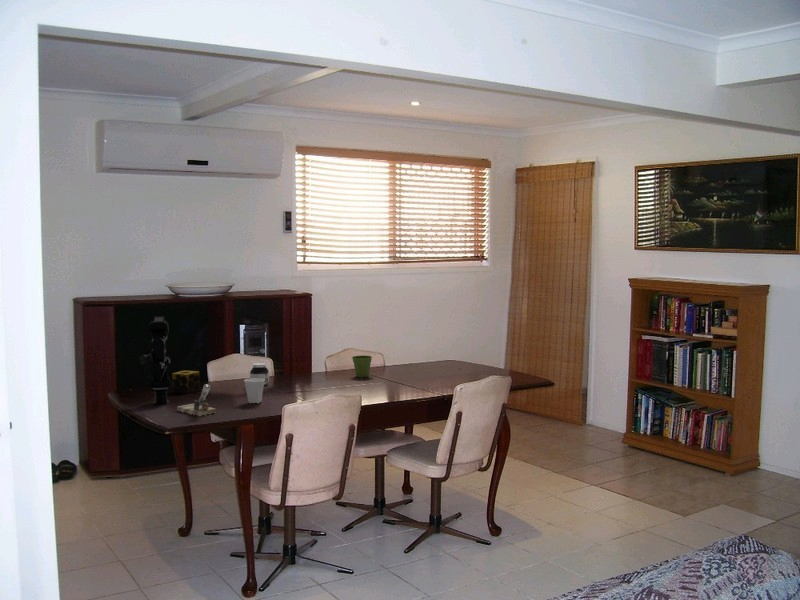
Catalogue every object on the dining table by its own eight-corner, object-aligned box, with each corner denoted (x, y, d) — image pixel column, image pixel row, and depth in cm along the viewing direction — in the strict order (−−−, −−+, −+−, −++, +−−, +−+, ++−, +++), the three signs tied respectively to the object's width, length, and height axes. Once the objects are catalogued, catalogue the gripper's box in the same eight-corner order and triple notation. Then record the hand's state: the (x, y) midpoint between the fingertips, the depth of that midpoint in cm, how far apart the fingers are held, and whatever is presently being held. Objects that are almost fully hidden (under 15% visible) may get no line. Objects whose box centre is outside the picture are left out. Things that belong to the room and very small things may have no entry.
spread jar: (258, 387, 425) (258, 365, 424) (242, 385, 431) (242, 364, 430) (273, 384, 435) (273, 362, 434) (257, 382, 441) (257, 361, 440)
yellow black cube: (200, 390, 418) (200, 371, 418) (188, 393, 409) (187, 374, 408) (185, 388, 423) (184, 370, 422) (172, 392, 414) (171, 373, 413)
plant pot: (350, 375, 461) (350, 355, 460) (371, 374, 463) (370, 355, 462) (353, 378, 450) (352, 358, 449) (374, 378, 452) (373, 358, 451)
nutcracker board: (177, 410, 369) (177, 397, 369) (194, 407, 376) (193, 395, 376) (199, 416, 358) (199, 403, 357) (216, 413, 364) (216, 400, 364)
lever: (195, 403, 365) (202, 384, 360) (201, 402, 367) (208, 383, 362) (198, 407, 363) (206, 389, 358) (204, 406, 365) (211, 388, 360)
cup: (245, 400, 392) (245, 378, 391) (266, 400, 392) (265, 377, 391) (243, 404, 382) (242, 382, 381) (264, 404, 383) (263, 381, 382)
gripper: (146, 345, 379) (147, 378, 381) (135, 351, 361) (136, 385, 362) (170, 345, 380) (171, 377, 381) (160, 350, 361) (161, 385, 363)
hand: (159, 381), depth 372 cm, fingers closed
